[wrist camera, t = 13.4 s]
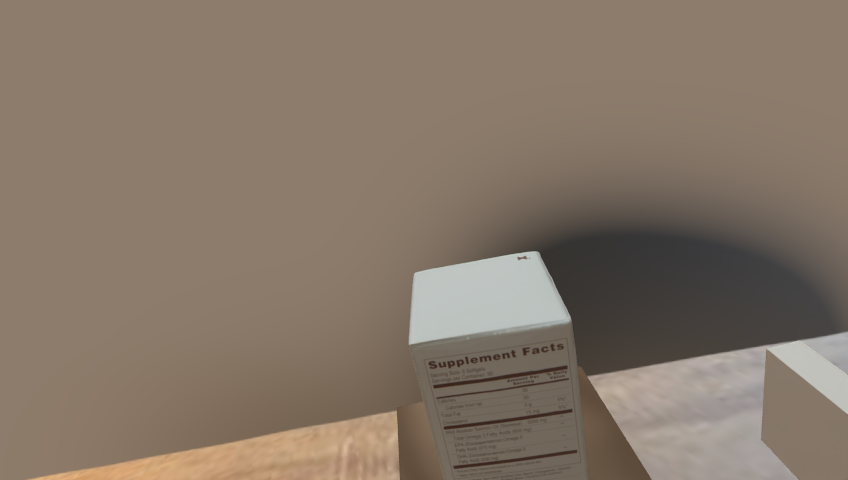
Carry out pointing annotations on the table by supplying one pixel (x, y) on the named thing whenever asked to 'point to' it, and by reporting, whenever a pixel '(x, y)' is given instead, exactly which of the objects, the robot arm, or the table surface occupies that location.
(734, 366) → the table surface
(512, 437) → the supplement box
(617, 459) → the walnut stand
